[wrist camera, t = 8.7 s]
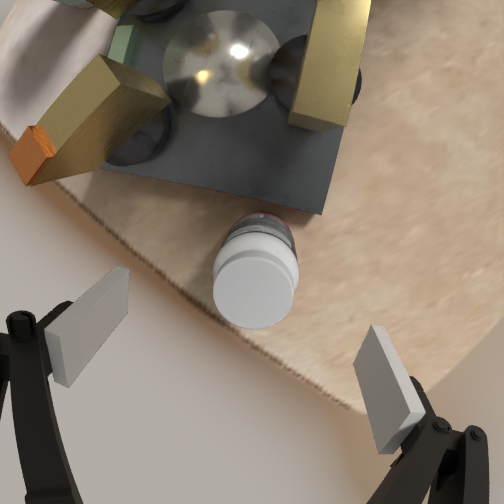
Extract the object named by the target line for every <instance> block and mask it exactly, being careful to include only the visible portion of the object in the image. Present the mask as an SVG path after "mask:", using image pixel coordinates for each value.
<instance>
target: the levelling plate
mask: <svg viewBox="0 0 504 504" xmlns="http://www.w3.org/2000/svg"><path fill="white" fill-rule="evenodd" d="M315 4H316V0H189V2H188V3H187V4H186V5H185V6H184V7H183V8H182V9H181V10H179V11H178V12H176V13H175V14H173V15H171V16H169V17H167V18H164V19H161V20H156V21H142V20H138V19H136V18H134V17H133V16H131V15H130V14H129V13H127V12H126V13H124V14H123V15H122V16H121V17H120V20H119V23H118V26H117V27H116V30H115V33H114V37H113V40H112V43H111V47H110V51H109V54H108V58H110V59H112V60H115V61H117V62H119V63H122V64H124V65H126V66H128V67H131V68H133V69H135V70H137V71H140V72H142V73H144V74H146V75H148V76H150V77H153V78H155V80H156V81H157V82H158V83H159V85H160V86H161V87H162V89H163V90H164V91H165V93H166V94H167V95H168V96H169V98H170V99H171V100H172V102H171V103H170V104H169V105H168V108H169V111H170V114H171V130H170V134H169V137H168V140H167V142H166V144H165V145H164V147H163V148H162V150H161V151H160V152H159V153H158V154H157V155H156V156H155V157H153V158H152V159H150V160H148V161H146V162H144V163H140V164H135V165H130V166H114V165H111V164H109V163H107V162H105V163H104V164H103V165H102V166H101V167H100V168H99V169H103V170H109V171H115V172H121V173H127V174H133V175H138V176H144V177H150V178H155V179H160V180H166V181H171V182H176V183H181V184H186V185H191V186H196V187H201V188H206V189H211V190H216V191H220V192H225V193H230V194H234V195H239V196H243V197H248V198H252V199H257V200H261V201H265V202H270V203H274V204H278V205H282V206H286V207H291V208H295V209H299V210H303V211H307V212H311V213H315V214H319V215H322V211H323V208H324V204H325V200H326V196H327V193H328V189H329V185H330V181H331V177H332V173H333V170H334V166H335V162H336V158H337V153H338V149H339V145H340V141H341V137H342V133H343V128H344V127H342V128H338V129H334V130H330V131H326V132H322V133H321V132H317V131H313V130H309V129H306V128H302V127H298V126H294V125H289V124H287V122H288V118H289V114H290V113H289V112H288V111H286V110H285V109H284V108H283V107H282V106H281V105H280V104H279V102H278V101H277V100H276V98H275V96H274V94H273V92H272V87H271V83H270V65H271V61H272V59H273V57H274V55H275V53H276V52H277V50H278V49H279V48H280V47H281V46H282V45H283V44H284V43H285V42H287V41H289V40H290V39H293V38H295V37H298V36H301V35H308V31H309V26H310V22H311V18H312V15H313V11H314V7H315Z"/></svg>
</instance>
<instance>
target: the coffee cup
mask: <svg viewBox="0 0 504 504" xmlns="http://www.w3.org/2000/svg"><path fill="white" fill-rule="evenodd" d="M53 1H57V2H60V3H64V4H67V5H70V6H74V7H77V8H81V9H86V8H90V7H93V6H94V5H93V4H91V3H89V2H88V1H86V0H53Z"/></svg>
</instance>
